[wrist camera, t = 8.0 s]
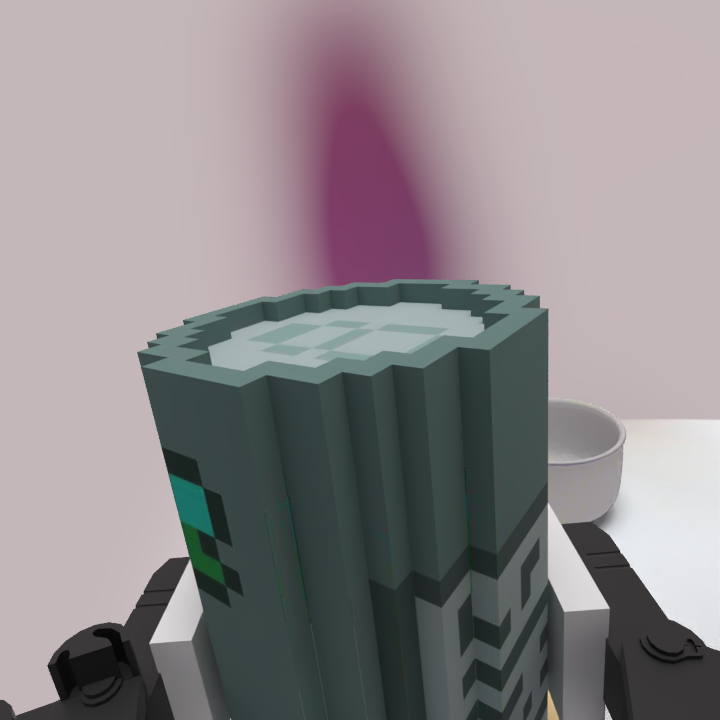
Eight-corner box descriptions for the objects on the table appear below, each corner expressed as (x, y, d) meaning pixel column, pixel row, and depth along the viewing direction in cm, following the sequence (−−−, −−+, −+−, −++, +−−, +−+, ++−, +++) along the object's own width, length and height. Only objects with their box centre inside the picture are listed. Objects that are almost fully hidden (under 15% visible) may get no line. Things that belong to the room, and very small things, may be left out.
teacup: (648, 509, 42) (654, 421, 40) (565, 569, 37) (566, 472, 35) (515, 451, 54) (513, 380, 51) (436, 490, 48) (430, 413, 46)
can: (383, 724, 17) (324, 278, 13) (573, 848, 13) (587, 281, 9) (243, 929, 13) (72, 352, 8) (469, 1196, 9) (391, 419, 4)
